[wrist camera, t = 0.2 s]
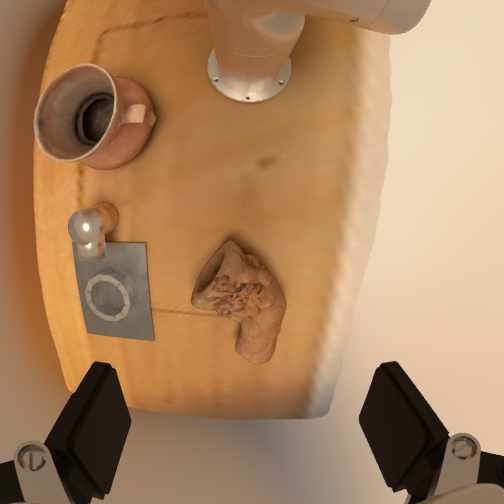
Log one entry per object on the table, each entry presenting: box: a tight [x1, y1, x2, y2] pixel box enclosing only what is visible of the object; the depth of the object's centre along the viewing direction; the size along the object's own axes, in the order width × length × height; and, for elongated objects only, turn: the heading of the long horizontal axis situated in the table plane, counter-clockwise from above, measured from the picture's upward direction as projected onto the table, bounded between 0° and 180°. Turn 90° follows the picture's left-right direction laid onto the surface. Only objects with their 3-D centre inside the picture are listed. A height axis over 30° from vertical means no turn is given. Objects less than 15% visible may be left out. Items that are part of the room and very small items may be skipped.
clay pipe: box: [191, 240, 286, 364], centre depth 44 cm, size 19×11×15 cm
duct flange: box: [72, 241, 155, 341], centre depth 45 cm, size 18×14×3 cm
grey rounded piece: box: [68, 203, 119, 262], centre depth 39 cm, size 7×5×8 cm, turn 177°
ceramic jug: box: [34, 63, 156, 170], centre depth 32 cm, size 18×14×14 cm
